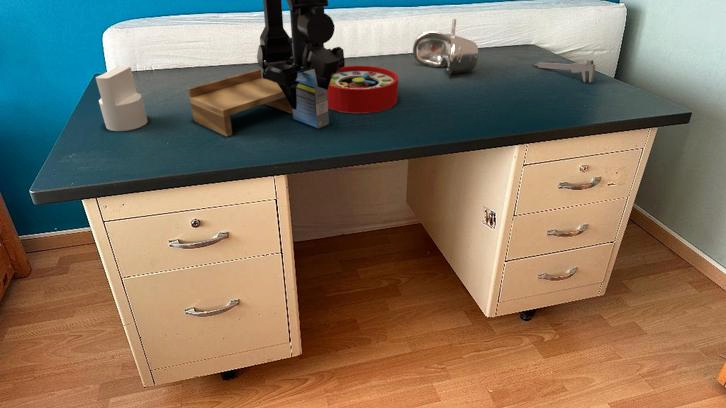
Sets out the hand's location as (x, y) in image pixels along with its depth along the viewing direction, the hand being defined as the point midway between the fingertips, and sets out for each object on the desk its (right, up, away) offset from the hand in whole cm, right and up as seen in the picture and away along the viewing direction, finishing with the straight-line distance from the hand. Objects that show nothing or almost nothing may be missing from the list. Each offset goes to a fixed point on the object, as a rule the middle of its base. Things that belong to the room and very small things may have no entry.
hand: (308, 104), depth 115 cm
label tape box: (0, -4, +3) cm, 5 cm away
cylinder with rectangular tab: (-42, -4, +2) cm, 43 cm away
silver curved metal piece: (+37, +18, +39) cm, 56 cm away
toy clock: (+11, +4, +16) cm, 20 cm away
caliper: (+71, +15, +34) cm, 81 cm away
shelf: (-16, -2, +5) cm, 17 cm away
